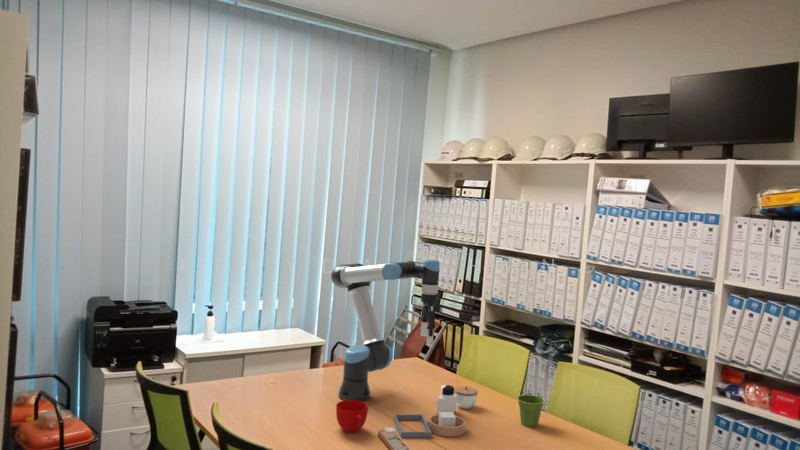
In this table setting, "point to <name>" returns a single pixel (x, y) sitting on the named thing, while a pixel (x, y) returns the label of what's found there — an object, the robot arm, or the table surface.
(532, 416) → the plant pot
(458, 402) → the lidded jar
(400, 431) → the parts tray
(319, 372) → the table surface
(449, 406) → the medicine bottle
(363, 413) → the ceramic cup
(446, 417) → the white cube
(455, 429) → the bowl
